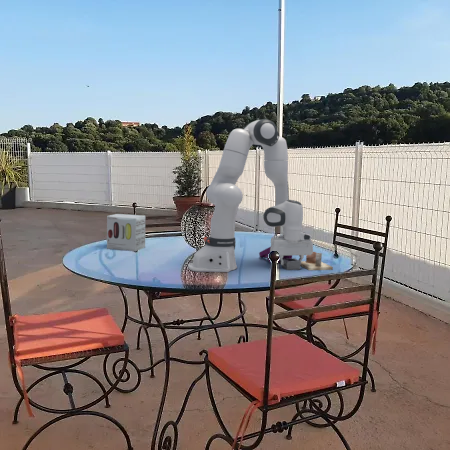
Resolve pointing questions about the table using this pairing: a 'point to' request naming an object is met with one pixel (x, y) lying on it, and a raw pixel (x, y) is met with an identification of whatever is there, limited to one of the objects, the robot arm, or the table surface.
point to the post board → (312, 266)
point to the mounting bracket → (267, 251)
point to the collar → (291, 264)
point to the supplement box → (126, 232)
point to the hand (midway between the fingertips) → (290, 264)
